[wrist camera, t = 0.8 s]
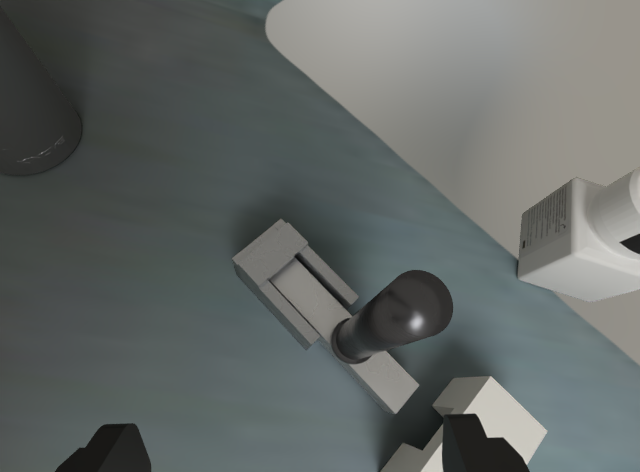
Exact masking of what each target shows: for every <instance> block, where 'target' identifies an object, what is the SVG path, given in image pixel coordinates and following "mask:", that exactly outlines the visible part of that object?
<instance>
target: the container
mask: <svg viewBox="0 0 640 472" xmlns="http://www.w3.org/2000/svg"><path fill="white" fill-rule="evenodd" d="M518 279H519V280H521V281H524V282H527V283H530V284H533V285H536V286H540V287H543V288H546V289H549V290H552V291H555V292H559V293H562V294H565V295H568V296H571V297H574V298H577V299H581V300H584V301H587V302H594V301H598V300H602V299H605V298H609V297H613V296H617V295H621V294H624V293H628V292H632V291H635V290H640V167H638V168H637V169H635V170H633V171H632V172H630V173H628V174H627V175H625V176H623V177H622V178H620V179H618V180H617V181H615V182H613V183H612V184H610V185H609V186H607V187H606V186H602V185H599V184H596V183H593V182H590V181H587V180H583V179H580V178H574V179H572V180H570V181H569V182H568V183H566V184H565V185H563V186H562V187H560V188H559V189H557V190H556V191H555V192H553V193H552V194H550V195H549V196H547V197H546V198H544V199H543V200H542V201H540V202H539V203H537V204H536V205H534V206H533V207H531V208H530V209H529V210H527V211H526V212H524V213H523V215H522V224H521V236H520V250H519V263H518Z"/></svg>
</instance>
